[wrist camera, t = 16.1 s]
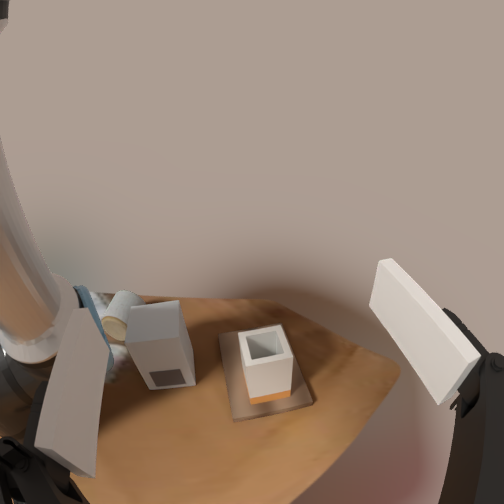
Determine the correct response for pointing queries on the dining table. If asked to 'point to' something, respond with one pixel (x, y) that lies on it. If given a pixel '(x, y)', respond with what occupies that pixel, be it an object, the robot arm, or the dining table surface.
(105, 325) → the ceramic mug
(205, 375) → the dining table surface
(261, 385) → the sleeve
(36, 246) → the robot arm
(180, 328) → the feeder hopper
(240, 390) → the pin board
